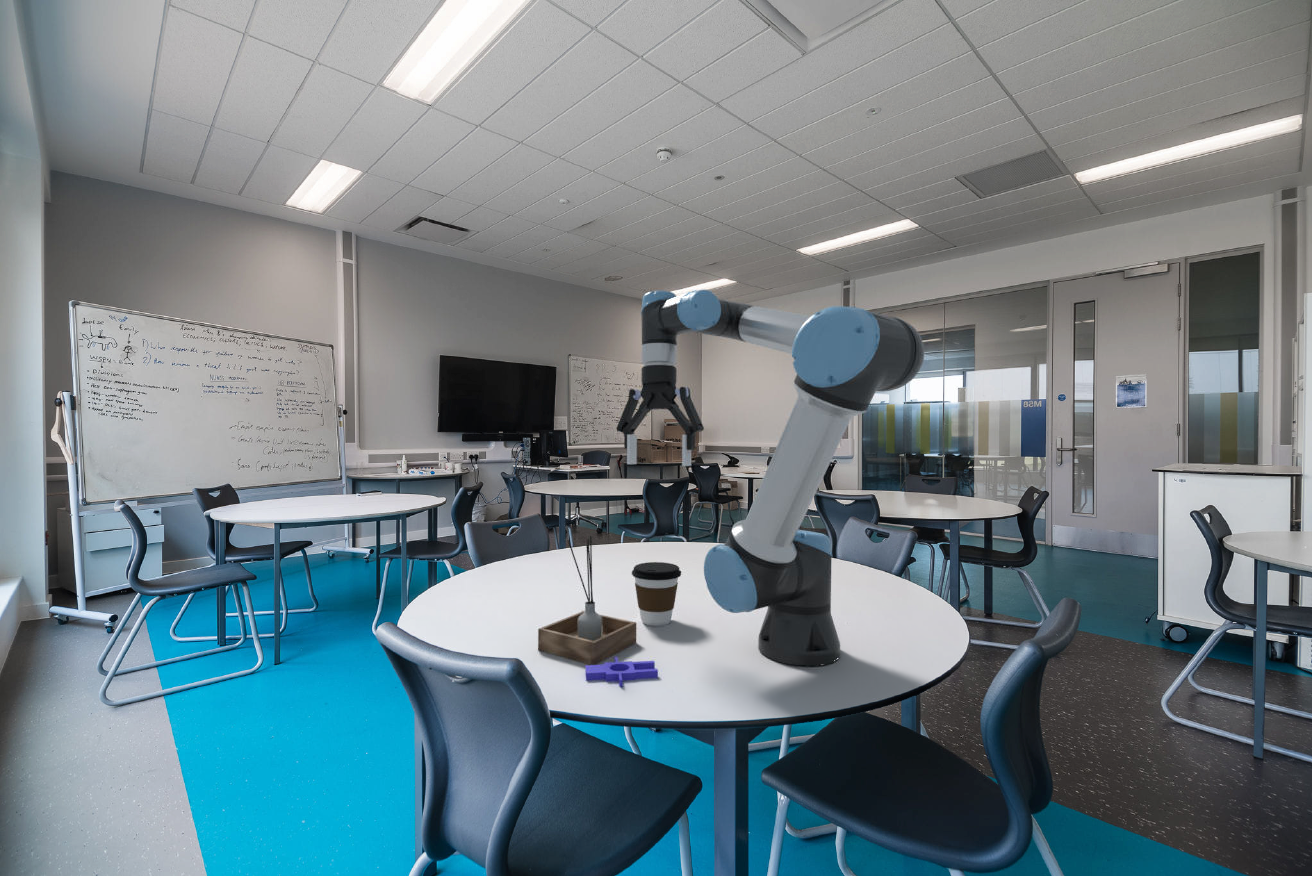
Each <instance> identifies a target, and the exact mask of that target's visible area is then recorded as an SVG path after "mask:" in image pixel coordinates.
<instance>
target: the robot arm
mask: <svg viewBox="0 0 1312 876" xmlns="http://www.w3.org/2000/svg"><path fill="white" fill-rule="evenodd" d="M641 303H642V306H641V311H640V316H641V364H642V365H643V366H642V367H641V378H640V379H641V385H642V388H641V390H639V389H633V388H630V389H629V391H628V399H627V402H626V404H625V407H624V409H623V411H622V414H621V416H620V418H619V421H618V423H617V426H616V428H615V429H616V431H617V432H620V433H622V434H623V435H624V436H623V437H624V440H623V443H624V444H623V445H624V446H623V447H624V449H625V450H626V465H637V453H638V451H637V448H638V447H637V445H638V444H637V443H638V442H637V441H638V435H637V434H636V432H635V431H636V430H637V429H638V427H639V426H640V424H641V423H642V421H644V419H645V418H646V417H647V415H648V413H649V412H651V411H652V410H655V411H656V410H657V411H658V410H668V411H669V413H670V414H671V415H672V416H673V418H674V419H675V420H676V422H677V423H678V424H679V425H680V426H681V428H682V430H683V431H684V434H682V435H681V438H682V439H681V442H682V443H681V448H682V449H681V459H682V460H681V467H691V466H692V451H694V450H695V448H696V434H698V433H699V432H703V431H704V430H705V428H704V427H705V426H704V425H703V422H702V420H701V419H700V416H699V414H698V411H697V409H696V406H695V405H694V402H693V401H692V398H691V390H690V389H691V388H690V387H686V386H681V387H679V388H677V387H676V386H677V372H678V371H677V368H676V366H675V365H676V364H677V351H678V350H677V343H678V342H677V336H678V335H683V334H687V333H694V334H701V335H708V336H713V337H714V336H715V337H721V338H726V339H731V340H736V341H739V342H744V343H748V344H752V345H756V346H760V347H764V348H768V349H771V350H775V351H776V350H777V351H779V352H783V353H786V354H791V357H792V358H793V360H794V361H792V365H793V368H794V370H795V372H796V376H795V378H794V380H793V386H794V389H795V391H796V393H797V399H796V400H795V403H794V405H793V407H792V410H791V412H790V415H789V417H788V420H787V422H786V425H785V427H784V429H783V431H782V434H781V435H780V438H779V440H778V443H777V445H776V448H775V449H774V452H773V455H772V457H771V459H770V461H769V464H768V467H767V469H766V471H765V473H764V476H763V477H762V480H761V483H760V484H759V487H758V489H757V492H756V495H755V497H754V499H753V501H752V504H751V506H750V509H749V511H748V514H747V516H746V518H745V519H742V520H739V521H736V522H735V523H734V524H733V525H732V527H731V530H730V533H729V535H728V537H727V540H726V541H725V542H724V544H723V543H720V544H717V545H715V546H713V547H711V548H710V549H709V550H708V552H707V553H706V555H705V558H704V562H703V575H704V579H705V583H706V587H707V590H708V591H709V594H710V595H711V597H712V599H713V600H714V602H715V603H716V604H717V605H718V606H719V607H721V609H723V610H724V611H726V612H729V613H730V614H731V613H732V614H739V613H749V612H753V611H755V610H759V609H763V608H766V607H767V610H766V613H765V616H764V619H763V621H762V624H761V628H760V630H759V634H758V637H757V638H758V640H757V641H758V646H757V648H758V649H757V650H759V652H760V654H762V655H763V656H765V657H766V658H768V659H771V660H773V661H776V662H779V663H782V664H786V665H792V666H799V665H820V666H822V665H821V664H827V663H830V662H833V661H834V660H836V659H837V658H839V656H840V657H841V641H840V638H839V635H838V632H837V629H836V625H835V623H834V620H833V616H832V611H831V609H832V608H831V607H832V606H831V605H832V558H833V553H832V543H831V539H830V537H829V536H828V535H826V534H825V533H820V532H815V531H809V530H803V529H800V527H801V525H802V523H803V520H804V518H805V517H806V514H807V512H808V510H809V508H810V505H811V504H812V502H813V499H814V497H815V496H816V493H817V491H818V490H819V489H818V488H819V487H820V485H821V482H822V481H823V478H824V476H825V475H826V473H827V470H828V468H829V466H830V464H831V462H832V460H833V457H834V455H835V453H836V451H837V449H838V447H839V445H840V443H841V440H842V438H843V437H844V434H845V432H846V430H847V427H849V424H850V422H851V421H852V420H851V419H852V418H853V417H856V416H858V415H862V414H864V413H866V412H867V411H868V409H869V406H870V404H871V403H872V400H873V398H874V396H875V394H876V393H877V392H889V391H890V392H891V391H894V390H897V389H900V388H902V387H904V386H906V385H907V384H909V383H910V382H911V381H913V380H914V378H915V377H916V376H917V375H918V374H919V372H920V370H921V369H922V366H923V365H924V360H925V345H924V341H923V339H922V336H921V334H920V333H919V332H918V330H917V329H916V328H915V327H914V326H913V325H911V324H910V323H908V322H907V321H905V320H903V319H901V318H899V317H893V316H889V315H886V314H881V313H877V312H875V311H870V310H866V309H864V308H860V307H856V306H842V305H838V306H837V305H835V306H833V305H832V306H829V307H825V308H823V309H821V310H820V311H817V312H815V313H814V314H813V315H806V314H800V313H794V312H790V311H783V310H778V309H773V308H768V307H767V308H766V307H762V306H754V305H751V304H746V303H740V302H739V303H738V302H736V301H735V302H734V301H729V300H725V299H724V300H723V299H721V298H720V299H718V297H717V296H716V295H715V294H714V293H713V291H711V290H709V289H699V290H692V291H688V292H687V293H684V294H681V295H679V296H677V295H676V294H675V293H674V292H673V291H672V292H671V291H667V290H655V291H653V290H652V291H649V292H646V293H645V294H644V295H643V297H642V302H641ZM677 397H678V398H679V399H680V402H681V403H682V406H683V409H684V411H685V412H686V415H685V414H684V412H683V411H682V410H681V408H680V405H679V404H678V403H677V402H676V398H677ZM641 398H642V402H641V403H640V404H639V401H640V399H641ZM638 404H639V406H638ZM637 406H638V409H637ZM636 409H637V410H636ZM686 416H687V417H688V418H687V417H686ZM839 659H840V658H839ZM833 663H834V662H833ZM830 664H831V663H830ZM827 665H828V664H827Z"/></svg>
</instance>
